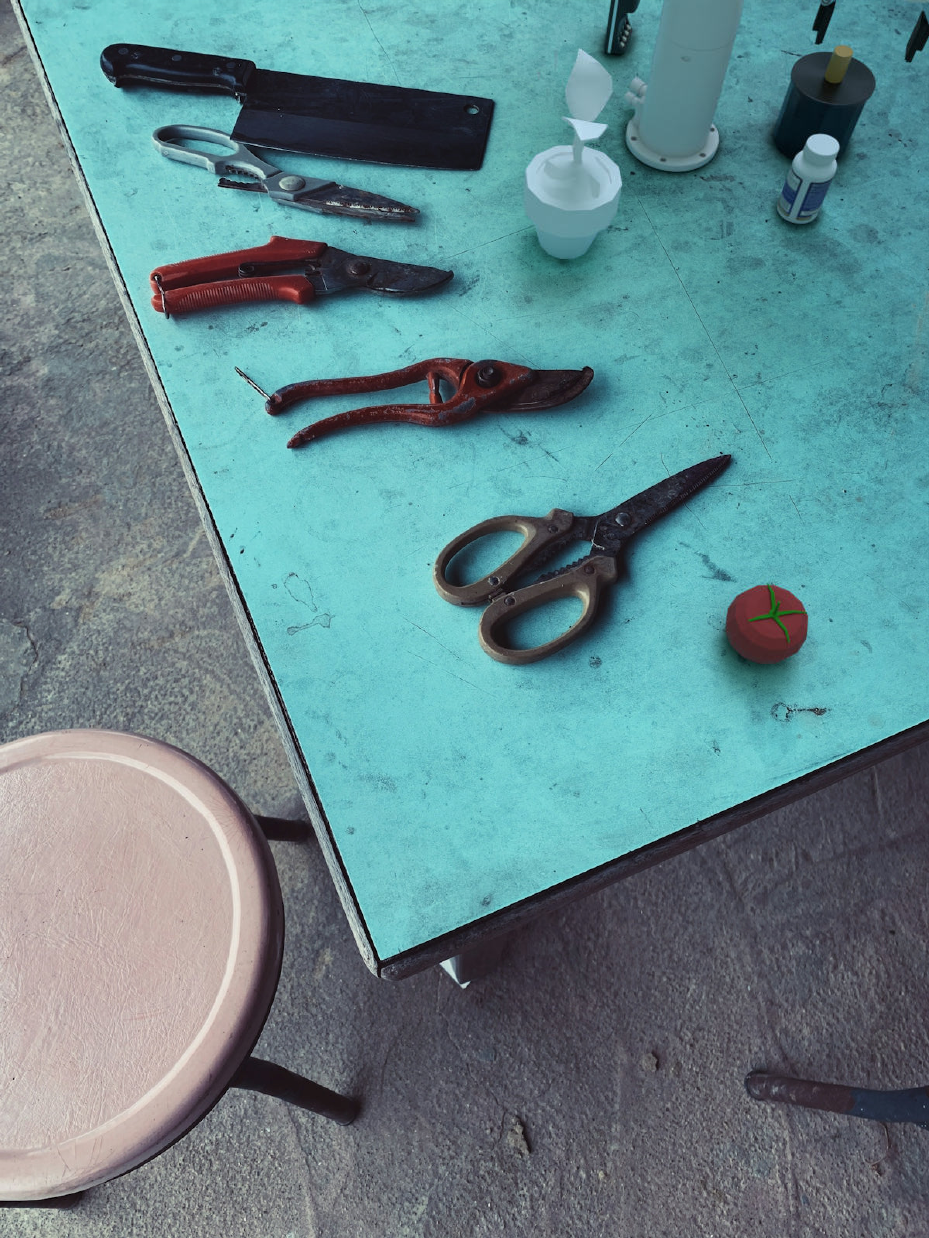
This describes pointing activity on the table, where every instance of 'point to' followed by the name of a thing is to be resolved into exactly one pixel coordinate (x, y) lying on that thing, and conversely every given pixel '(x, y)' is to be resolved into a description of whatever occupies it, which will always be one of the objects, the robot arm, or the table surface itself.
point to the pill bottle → (809, 179)
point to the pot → (812, 123)
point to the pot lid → (833, 78)
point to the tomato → (766, 624)
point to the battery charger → (619, 25)
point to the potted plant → (575, 171)
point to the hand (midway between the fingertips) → (863, 46)
